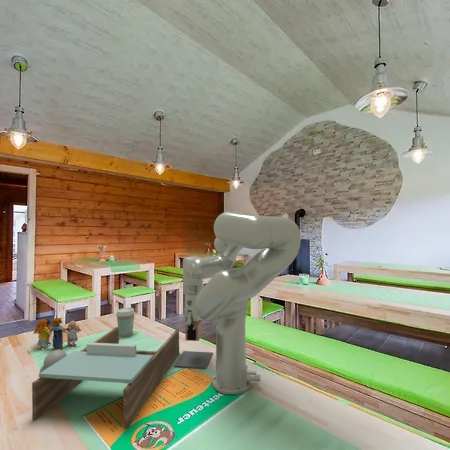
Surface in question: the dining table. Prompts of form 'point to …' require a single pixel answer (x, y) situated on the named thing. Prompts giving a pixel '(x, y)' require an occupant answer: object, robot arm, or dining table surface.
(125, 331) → the coffee cup
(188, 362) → the rubber mat
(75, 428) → the dining table surface
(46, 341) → the doll family
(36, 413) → the wooden shelf frame
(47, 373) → the sliding cover
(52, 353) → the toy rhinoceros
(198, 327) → the terracotta block
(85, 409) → the dining table surface
